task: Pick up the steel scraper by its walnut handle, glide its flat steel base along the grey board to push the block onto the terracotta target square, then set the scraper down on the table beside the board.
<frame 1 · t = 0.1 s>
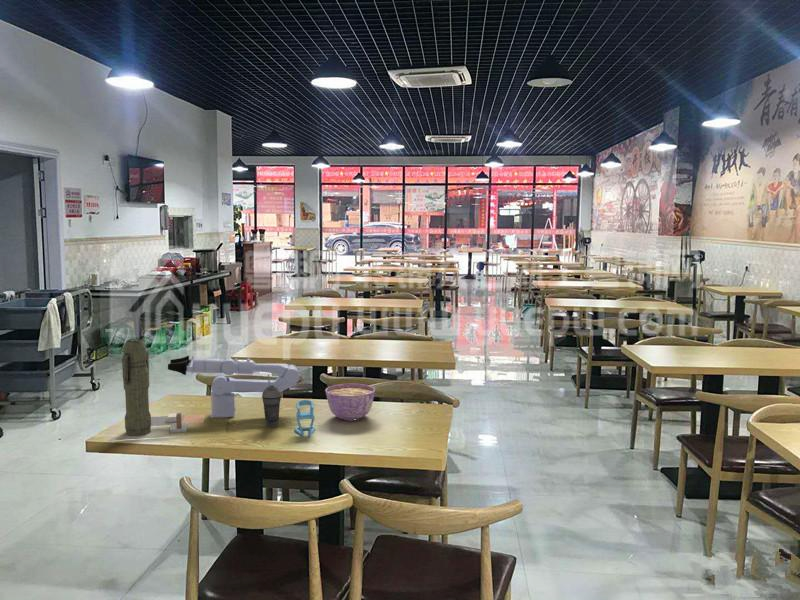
hand: (169, 364, 257), 22 cm above the table, tool horizontal, fingers open, 7 cm apart
bowl of food: (350, 418, 262), on the table
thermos: (138, 434, 241), on the table
mat: (173, 421, 255), on the table
chair: (305, 433, 242), on the table
block: (175, 420, 255), resting on mat
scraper: (179, 431, 245), on the table
beverage cup: (272, 426, 251), on the table
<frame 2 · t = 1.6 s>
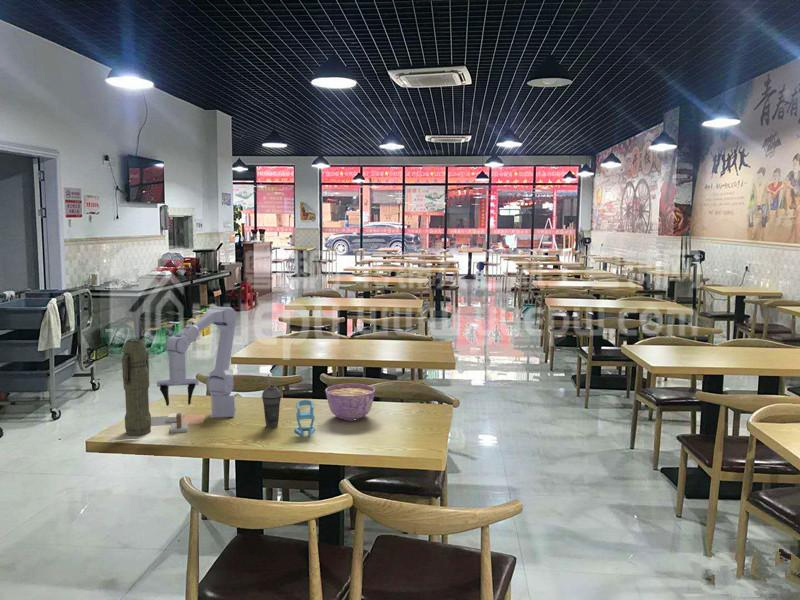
hand: (178, 404, 243), 10 cm above the table, tool pointing down, fingers open, 7 cm apart
nothing on the table moved.
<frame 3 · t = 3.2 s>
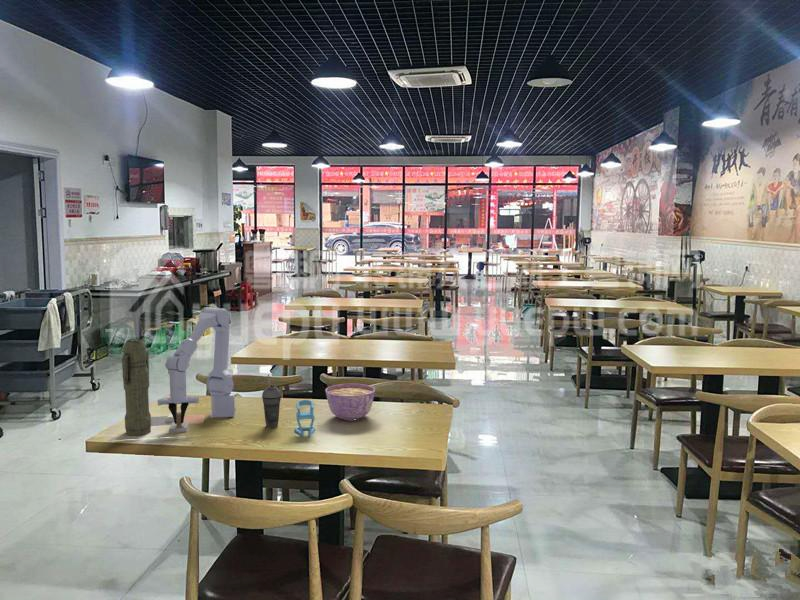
hand: (179, 422, 244), 3 cm above the table, tool pointing down, fingers closed on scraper
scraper: (179, 430, 245), on the table, touching gripper
everything else where it was.
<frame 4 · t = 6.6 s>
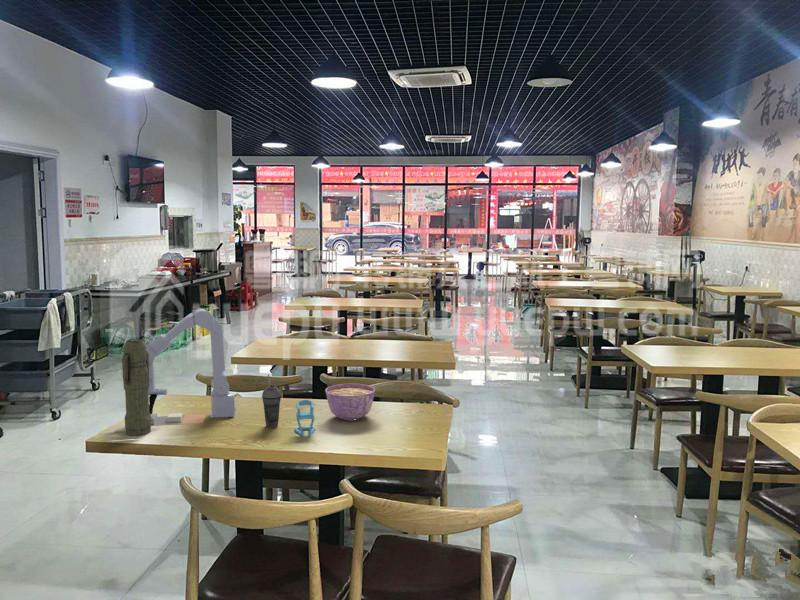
hand: (147, 413, 253), 4 cm above the table, tool pointing down, fingers closed on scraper, 2 cm apart
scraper: (147, 421, 253), point 1 cm above the table, touching gripper, mat
everything else where it was.
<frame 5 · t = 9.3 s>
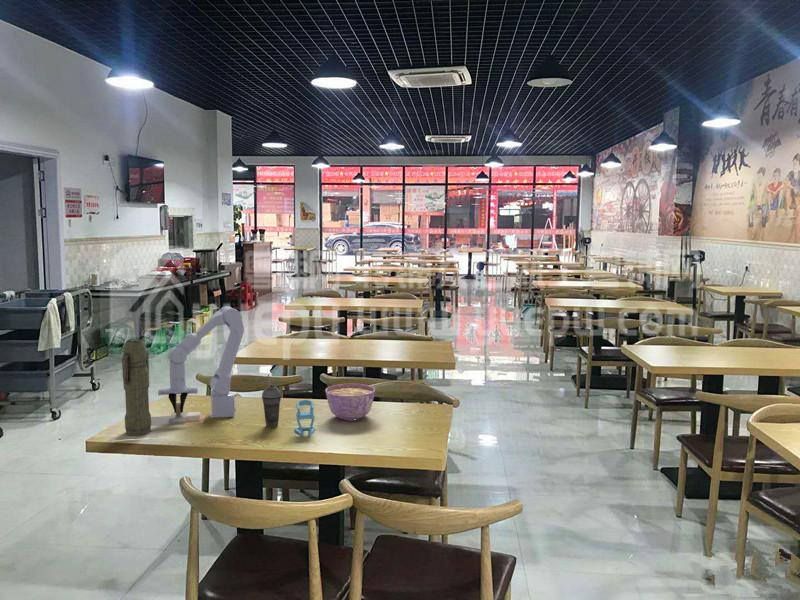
hand: (178, 412, 255), 4 cm above the table, tool pointing down, fingers closed on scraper
block: (193, 418, 257), resting on mat
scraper: (178, 420, 255), resting on mat, touching gripper
everything else where it was.
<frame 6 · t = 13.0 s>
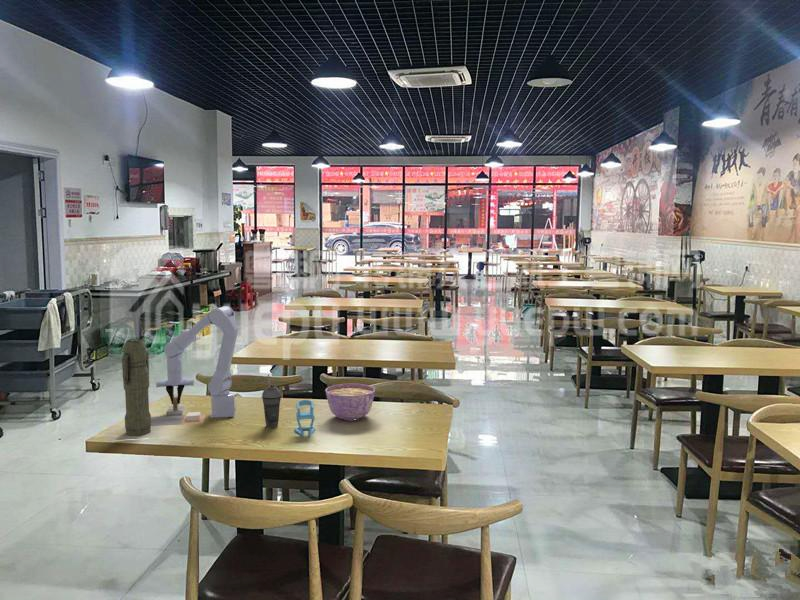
hand: (175, 403, 267), 4 cm above the table, tool pointing down, fingers closed
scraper: (176, 413, 266), on the table
everything else where it was.
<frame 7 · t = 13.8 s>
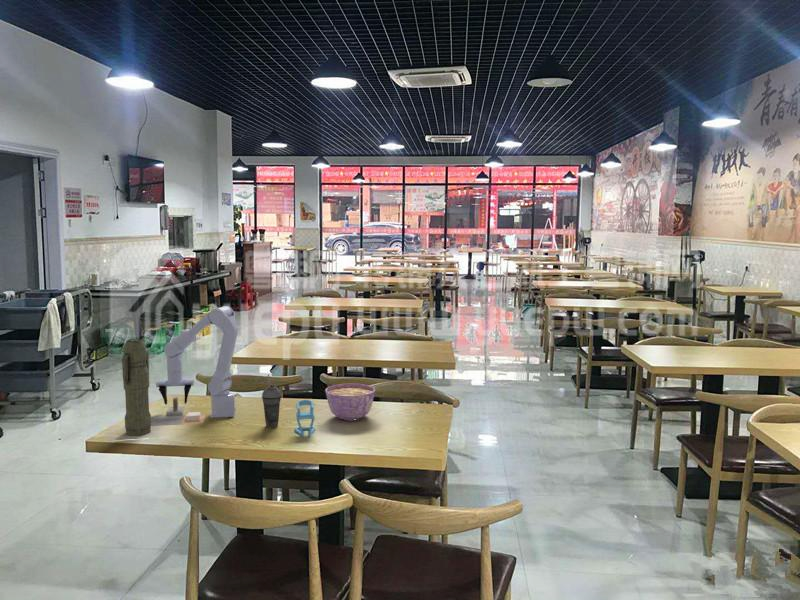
hand: (175, 403, 267), 4 cm above the table, tool pointing down, fingers open, 7 cm apart
nothing on the table moved.
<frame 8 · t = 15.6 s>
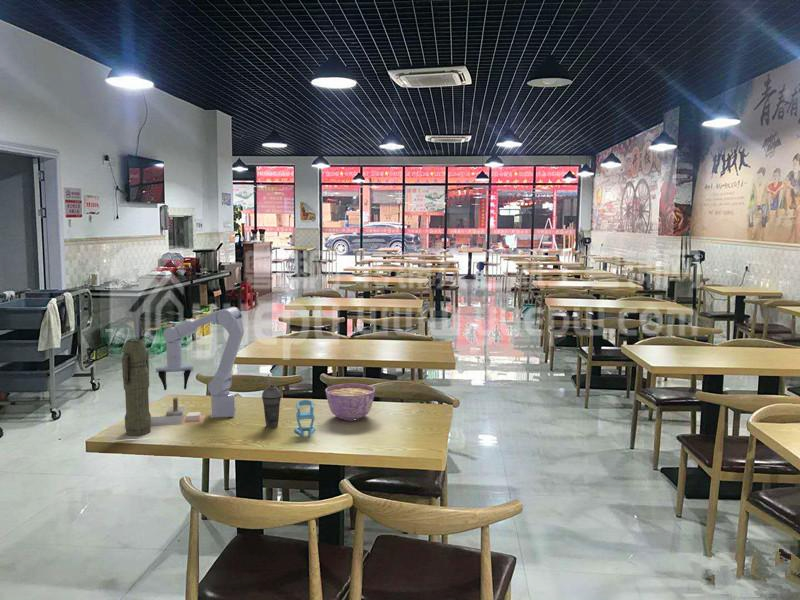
hand: (175, 389, 266), 10 cm above the table, tool pointing down, fingers open, 7 cm apart
nothing on the table moved.
at the end: block 0.1 cm from the target spot on the mat, point 0.5 cm above the mat's base; the gripper is holding nothing; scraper touching table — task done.
